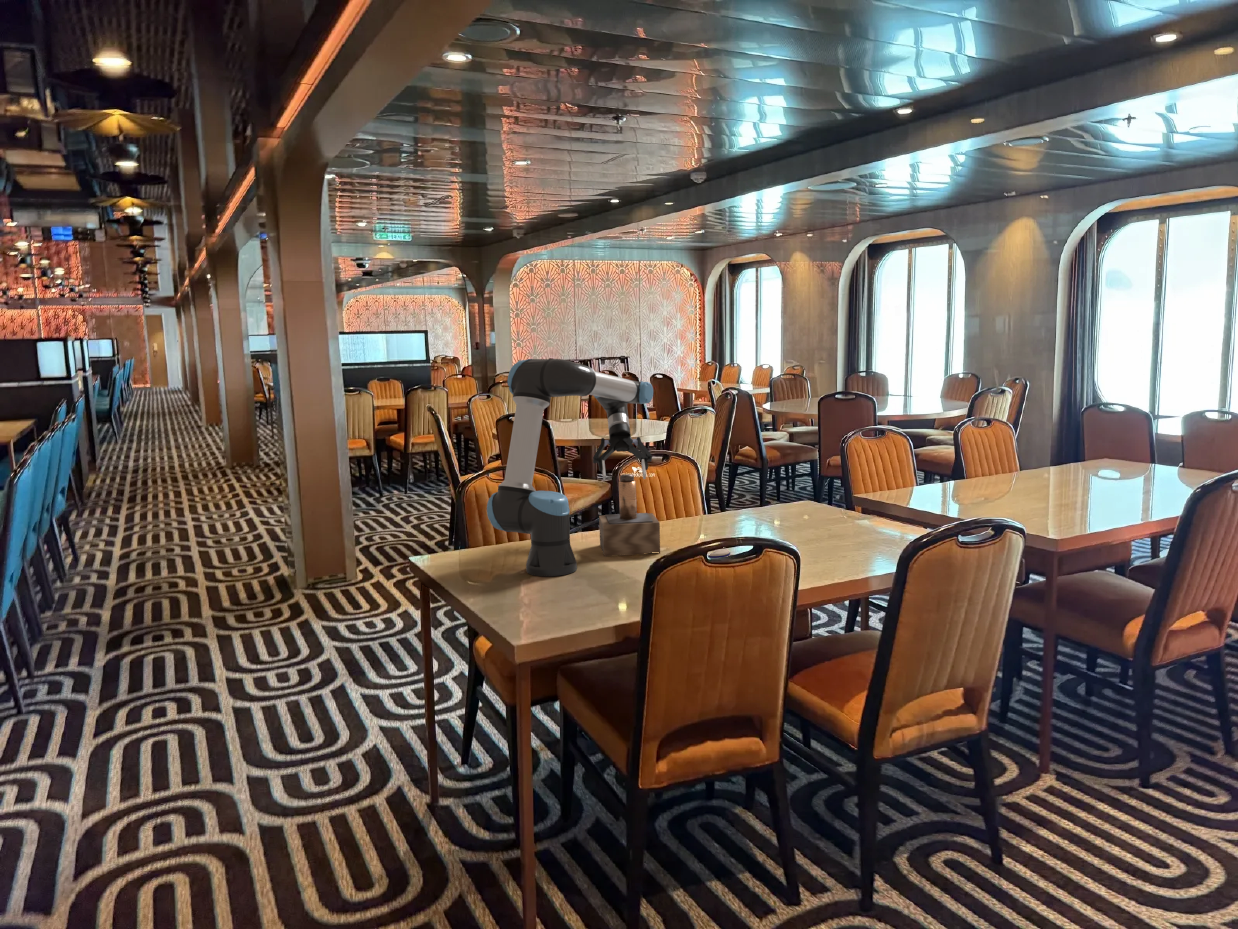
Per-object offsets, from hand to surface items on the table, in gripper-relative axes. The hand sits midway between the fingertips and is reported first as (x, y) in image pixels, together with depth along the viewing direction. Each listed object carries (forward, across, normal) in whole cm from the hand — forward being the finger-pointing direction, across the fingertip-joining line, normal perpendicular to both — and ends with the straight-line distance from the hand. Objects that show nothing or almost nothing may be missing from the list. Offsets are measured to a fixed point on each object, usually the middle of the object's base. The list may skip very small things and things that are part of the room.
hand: (624, 477), depth 292 cm
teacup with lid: (+55, -20, +23) cm, 63 cm away
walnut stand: (+23, 0, -8) cm, 25 cm away
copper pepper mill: (+16, 0, -1) cm, 16 cm away
